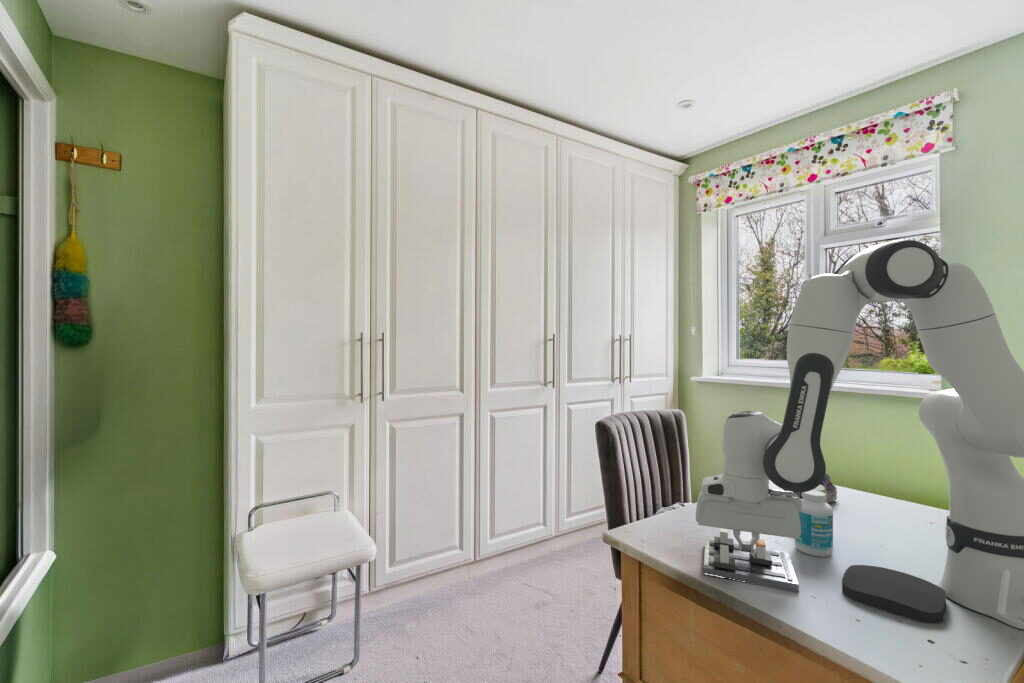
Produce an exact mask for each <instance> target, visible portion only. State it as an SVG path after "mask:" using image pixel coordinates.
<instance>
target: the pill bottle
mask: <svg viewBox="0 0 1024 683" xmlns="http://www.w3.org/2000/svg"><path fill="white" fill-rule="evenodd" d="M802 497H803V499H801V500H802V510H801V512H800V513H799V518H800V524H801V535H800V536H799V537H798V538H797V539H794V546H795V548H796V549H797V550H798V551H799V552H801V553H804V554H806V555H809V556H813V557H819V558H820V557H821V558H825V557H826V558H827V557H830V556H831V555H833V552H834V550H833V549H834V544H833V543H834V511H833V507H832V505H830V503H825V502H824V501H825V500H826V494H825V493H823V492H820V491H815V490H811V491H807V492H802Z"/></svg>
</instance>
